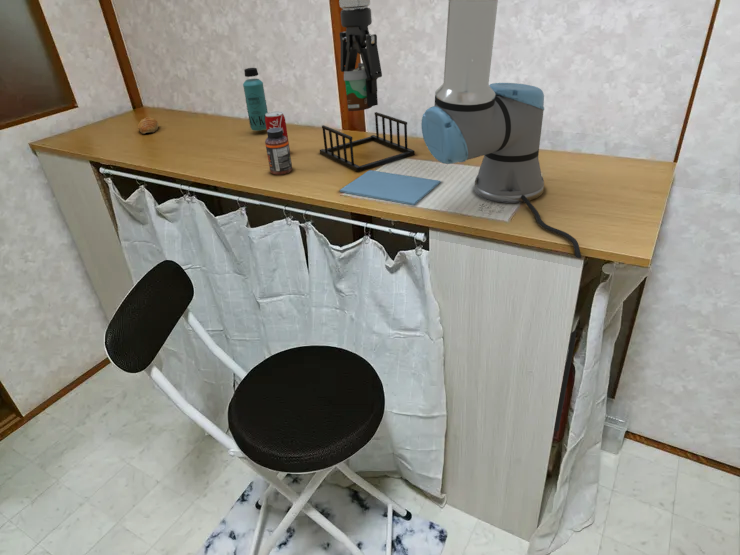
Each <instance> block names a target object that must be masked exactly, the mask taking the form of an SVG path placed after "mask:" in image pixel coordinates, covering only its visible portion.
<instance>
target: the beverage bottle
mask: <svg viewBox="0 0 740 555" xmlns="http://www.w3.org/2000/svg"><path fill="white" fill-rule="evenodd" d="M258 71H259V70H258V68H257V67H248V68H245V69H244V77H247V78H248V79H246V80H245V81H244V82H243V83H242V87H243V92H244V98H245V99H244V100H245V104H246V111H247V116H248V122H249V128H250V130H251V131H257V132H258V131H265V130H267V129H266V123H265V114H266V113H269V112H268V105H267V100H266V93H265V88H264V82H263V81H262V79H260V78H252V77H257V76H259V72H258Z"/></svg>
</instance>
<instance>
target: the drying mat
mask: <svg viewBox="0 0 740 555" xmlns="http://www.w3.org/2000/svg"><path fill="white" fill-rule="evenodd" d="M439 184H441V180H437V179H431V178H425V177H419V176H418V177H417V176H412V175H405V174H397V173H392V172H386V171H385V172H384V171H378V170H371V169H368V170H367V171H366V172H364V173H363V174H362V175H359V176H358V177H357V178H355V179H354V180H353V181H351V182H350V183H348V184H346V185H345V186H342V188H340V189H339V192H340V193H345V194H349V195H356V196H362V197H367V198H370V199H371V198H372V199H378V200H382V201H388V202H389V201H390V202H394V203H400V204H405V205H411V206H415V205H416V204H417V203H419V202H420V201H421V200H423V198H424V197H425V196H427V195H428V194H429V193H431V191H432V190H434V189H435V188H437V186H439Z"/></svg>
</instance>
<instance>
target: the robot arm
mask: <svg viewBox="0 0 740 555" xmlns="http://www.w3.org/2000/svg"><path fill="white" fill-rule="evenodd" d="M498 3H499V0H448V4H447V18H446V19H447V20H446V21H447V22H446V37H445V51H444V54H445V55H444V69H443V70H444V71H443V83H442V84H441V85H440V86H439V87H438V88H437V89H436V90H435V93H434V106H433V105H432V106H431V107H430V106H429V107H428V108H427V109H426V110H425V111H424V113H423V114H422V117H421V123H420V124H421V125H420V126H421V133H422V138H423V141H424V144H425V146H426V147H427V150H428V151H429V153H430V154H431V155H432V156H433V158H434V159H436V160H437V161H438V162H440V163H441V164H445V165H452V164H457V163H465V162H466V161H468V160H472V159H477V158H479V157H482V156H483V158H482V161H481V164H480V167H479V170H478V172H477V173H478V174H477V175H476V176H475V180H474V192H475V193H476V194H477V195H478V196H479V197H481V198H483V199H485V200H488V201H491V202H495V203H507V204H514V203H515V204H516V203H524V204H525V205H526V206H527V207H528V209H529V210H530V211H531V212H532V214H533V215H534V218H535V220H536V223H537V224H538V225H539V226H540V227H541V228H542V229H544V230H545V231H548V232H550V233H553V234H556V235H558V236H560V237H563V238H565V239H566V240H567V241H568V242H570V243H571V244H572V246H573V251H574V256H575V258H576V259H581V258H582V255H581V250H580V245H579V243H578V240H577V239H576V238H575V237H573V236H572V235H571V234H569V233H568V232H565V231H563V230H561V229H558V228H556V227H552V226H551V225H548V224H547V223H545V222H544V221H543V220H542V218H541V215H540V214H539V212H538V209H537V208H536V207H535V206H534V204H533V203H532V202H531V201H533V200H536V199H537V198H539V197H541V196H542V195H543V193H544V189H545V187H544V186H545V181H544V176H542V169H541V164H540V160H539V153H540V145H541V138H542V137H541V135H542V127H543V120H544V111H545V107H544V103H545V93H544V91H543V89H542V88H540V87H538V86H535V85H532V84H531V85H530V84H524V83H518V82H517V83H516V82H493V83H490V76H491V75H490V74H491V66H492V57H493V49H494V40H495V31H496V23H497V13H498V6H499V4H498ZM338 4H339V8H341V10H340V23H341V27H342V28H345V31H340V32H339V40H340V72H341V73H342V72H343V73H344V72H345V71H351V70H352V69H356V66H357V65H356V64H357V58H358V54H359V55H360V59H361V61H362V62H361V63H363V65H364V68H365V72H366V75H367V78H366V79H365V80H366V91H367V105H368V107H371V106H372V107H375V106H378V105H379V102H378V79H379V78H382V77H383V73H382V66H381V60H380V54H379V50H378V35H377V34H376V33H374V34H372V33H370V31H369V26H371V25H372V24H373V22H372V20H373V19H372V9H371V7H369V6H370V5H371V0H338ZM372 107H371V108H372ZM576 337H577V329H574V330H573V331H571V333H570V338H569V344H568V349H567V350H568V351H567V355H566V361H565V366H564V373H563V378H562V382H561V388H560V394H559V400H558V405H557V412H556V419H555V423H554V431H555V432H559V430H560V426H561V420H562V414H563V408H564V402H565V397H566V391H567V386H568V381H569V377H570V376H569V375H570V370H571V366H572V360H573V354H574V350H575V349H574V348H575V342H576Z"/></svg>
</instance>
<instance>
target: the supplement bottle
mask: <svg viewBox="0 0 740 555" xmlns="http://www.w3.org/2000/svg"><path fill="white" fill-rule="evenodd" d="M266 133H267V134H266V135H267V137H266V139H265V140H264V144H265V149H266V155H267V161H268V167H269V171H270V173H271V174H272V175H275V176H281V175H286V174H289V173H290V172H292V170H293V163H292V158H291V149H290V150H289V148H290V142H289V143H288V141H289V138H288V139H287V137H286V136H284V135H283V130H282V128H271V129H268V130H267V129H266Z"/></svg>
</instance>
